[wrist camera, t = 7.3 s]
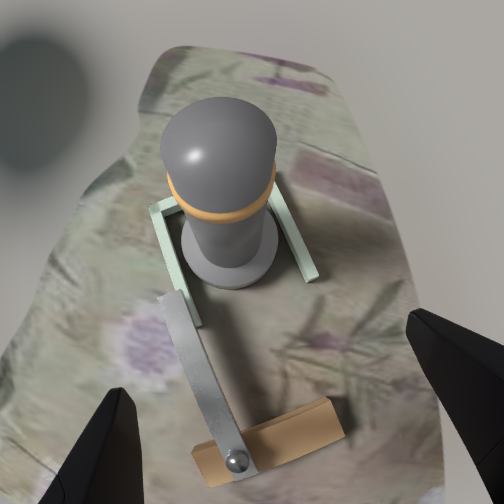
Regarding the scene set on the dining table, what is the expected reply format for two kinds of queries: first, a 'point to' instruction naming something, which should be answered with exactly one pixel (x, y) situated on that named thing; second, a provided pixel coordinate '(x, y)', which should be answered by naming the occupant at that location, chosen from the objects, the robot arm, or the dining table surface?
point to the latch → (206, 385)
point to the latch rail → (275, 440)
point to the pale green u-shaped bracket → (172, 261)
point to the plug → (223, 188)
